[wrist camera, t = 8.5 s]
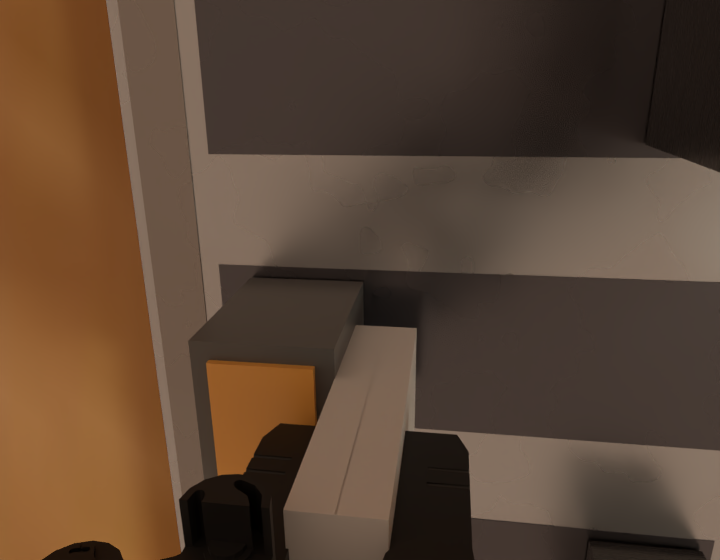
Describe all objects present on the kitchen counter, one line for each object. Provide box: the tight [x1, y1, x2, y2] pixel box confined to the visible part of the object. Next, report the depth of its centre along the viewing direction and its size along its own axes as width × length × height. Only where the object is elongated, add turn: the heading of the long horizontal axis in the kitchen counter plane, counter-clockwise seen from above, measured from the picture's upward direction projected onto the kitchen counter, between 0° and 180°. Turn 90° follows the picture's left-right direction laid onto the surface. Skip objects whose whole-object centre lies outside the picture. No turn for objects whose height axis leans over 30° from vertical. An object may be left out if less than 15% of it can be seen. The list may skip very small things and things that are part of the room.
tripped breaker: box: [188, 277, 364, 480], centre depth 14 cm, size 4×3×4 cm
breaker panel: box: [106, 0, 720, 560], centre depth 15 cm, size 24×18×6 cm
